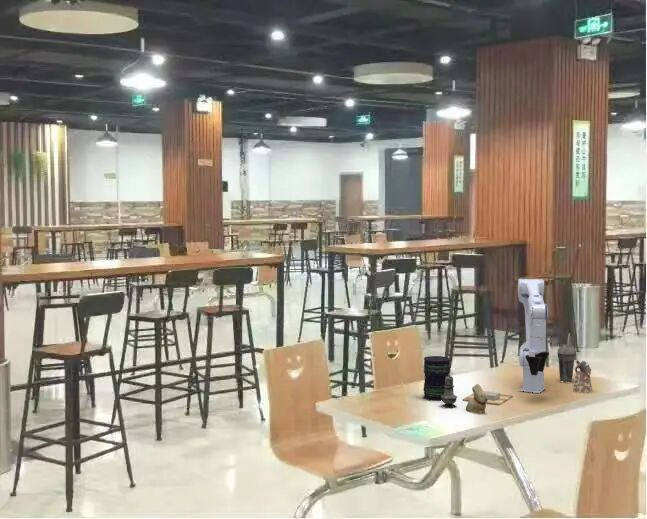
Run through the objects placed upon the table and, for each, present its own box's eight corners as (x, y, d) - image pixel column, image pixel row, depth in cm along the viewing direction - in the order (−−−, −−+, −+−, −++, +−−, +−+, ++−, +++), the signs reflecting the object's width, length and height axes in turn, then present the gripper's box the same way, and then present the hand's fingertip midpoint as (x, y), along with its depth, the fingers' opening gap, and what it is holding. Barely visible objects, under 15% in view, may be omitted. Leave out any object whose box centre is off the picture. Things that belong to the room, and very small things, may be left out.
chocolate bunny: (474, 414, 283) (474, 386, 283) (464, 409, 291) (464, 381, 290) (488, 413, 285) (489, 385, 284) (478, 408, 292) (478, 380, 292)
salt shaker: (444, 408, 292) (444, 375, 291) (438, 405, 297) (438, 372, 296) (460, 407, 293) (460, 374, 292) (453, 404, 299) (453, 371, 298)
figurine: (588, 394, 314) (588, 363, 313) (570, 391, 318) (570, 360, 318) (594, 390, 320) (595, 360, 319) (576, 388, 324) (577, 358, 323)
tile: (479, 390, 310) (473, 393, 305) (500, 392, 306) (494, 396, 301) (479, 395, 310) (473, 398, 305) (500, 397, 306) (494, 400, 301)
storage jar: (449, 401, 302) (449, 361, 302) (422, 400, 304) (422, 360, 304) (450, 395, 312) (451, 356, 311) (424, 394, 314) (424, 355, 313)
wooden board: (477, 392, 316) (477, 391, 316) (512, 397, 309) (512, 395, 309) (462, 400, 304) (462, 399, 304) (499, 405, 296) (499, 403, 296)
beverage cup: (553, 380, 339) (553, 332, 337) (568, 379, 341) (569, 331, 339) (563, 384, 332) (564, 334, 330) (578, 383, 334) (579, 334, 333)
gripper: (532, 333, 312) (532, 368, 313) (520, 338, 299) (520, 375, 300) (551, 334, 308) (550, 370, 309) (540, 340, 296) (539, 377, 297)
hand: (537, 373), depth 304 cm, fingers open, 7 cm apart
